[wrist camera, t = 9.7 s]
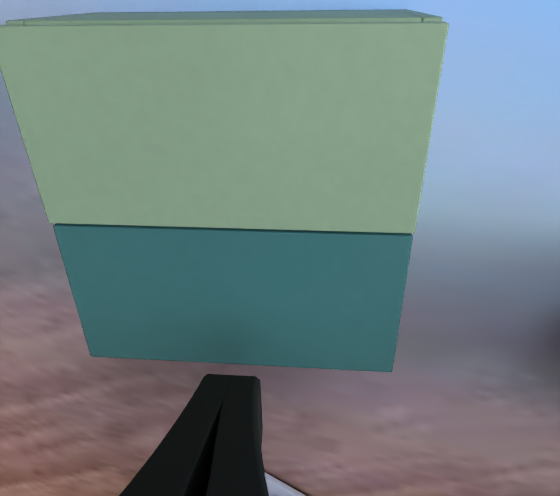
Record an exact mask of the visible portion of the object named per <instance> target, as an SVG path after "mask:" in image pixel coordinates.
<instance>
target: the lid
mask: <svg viewBox="0 0 560 496" xmlns="http://www.w3.org/2000/svg"><path fill="white" fill-rule="evenodd" d="M53 228H54V231H55V235H56V238H57V242H58V245H59V248H60V252H61V255H62V259H63V262H64V266H65V269H66V273H67V276H68V279H69V283H70V286H71V290H72V293H73V297H74V300H75V304H76V307H77V310H78V314H79V317H80V321H81V324H82V328H83V331H84V335H85V338H86V341H87V345H88V348H89V352H90V355H91V356H92V357H111V358H130V359H150V360H169V361H188V362H207V363H226V364H245V365H264V366H283V367H302V368H321V369H340V370H359V371H378V372H392V368H393V361H394V355H395V348H396V342H397V336H398V329H399V323H400V316H401V310H402V303H403V297H404V290H405V284H406V277H407V271H408V265H409V258H410V252H411V245H412V239H413V236H412V234H411V233H382V232H346V231H311V230H276V229H241V228H205V227H170V226H135V225H100V224H64V223H56V224H55V225H54V226H53Z"/></svg>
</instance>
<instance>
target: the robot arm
mask: <svg viewBox="0 0 560 496" xmlns="http://www.w3.org/2000/svg"><path fill="white" fill-rule="evenodd" d="M262 429H263V426H262V406H261V387H260V380H259V379H258V378H257V377H256V376H237V375H218V374H207V375H206V376H204V378H203V379H202V381H201V383H200V385H199V386H198V388H197V390H196V391H195V393H194V394H193V396H192V398H191V399H190V401H189V402H188V404H187V406H186V407H185V409H184V410H183V412H182V413H181V415H180V416H179V418H178V419H177V421H176V422H175V423H174V425H173V426H172V428H171V429H170V430H169V432H168V433H167V435H166V436H165V437H164V439H163V440H162V442H161V443H160V444H159V446H158V447H157V449H156V450H155V451H154V453H153V454H152V455H151V457H150V458H149V459H148V460H147V462H146V463H145V464H144V465H143V467H142V468H141V469H140V470H139V472H138V473H137V474H136V476H135V477H134V478H133V479H132V481H131V482H130V483H129V484H128V486H127V487H126V488H125V489H124V490H123V491H122V493H121V494H120V495H119V496H306V495H304V494H302V493H301V492H299V491H297V490H295V489H293V488H292V487H290V486H288V485H286V484H285V483H283V482H281V481H279V480H278V479H276V478H274V477H272V476H270V475H269V474H267V473H265V472H264V466H263V460H262V453H261V444H262Z"/></svg>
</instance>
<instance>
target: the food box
mask: <svg viewBox="0 0 560 496" xmlns="http://www.w3.org/2000/svg"><path fill="white" fill-rule="evenodd" d="M448 27H449V23H447V22H443V18H442V17H440V16H435V15H430V14H425V13H421V12H416V11H411V10H314V11H216V12H119V13H85V14H74V15H63V16H53V17H42V18H31V19H20V20H9V21H6V25H0V69H1V72H2V75H3V78H4V81H5V85H6V88H7V91H8V94H9V97H10V101H11V104H12V107H13V110H14V113H15V117H16V120H17V123H18V126H19V129H20V132H21V136H22V139H23V142H24V145H25V148H26V152H27V155H28V158H29V161H30V164H31V168H32V171H33V174H34V177H35V180H36V183H37V187H38V190H39V193H40V196H41V199H42V203H43V206H44V209H45V212H46V215H47V218H48V222H49V223H64V224H100V225H135V226H170V227H205V228H241V229H276V230H311V231H346V232H382V233H415V228H416V222H417V216H418V210H419V204H420V198H421V192H422V186H423V179H424V173H425V167H426V161H427V155H428V149H429V143H430V137H431V131H432V125H433V119H434V112H435V106H436V100H437V94H438V88H439V82H440V76H441V70H442V64H443V58H444V52H445V46H446V39H447V33H448Z"/></svg>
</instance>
